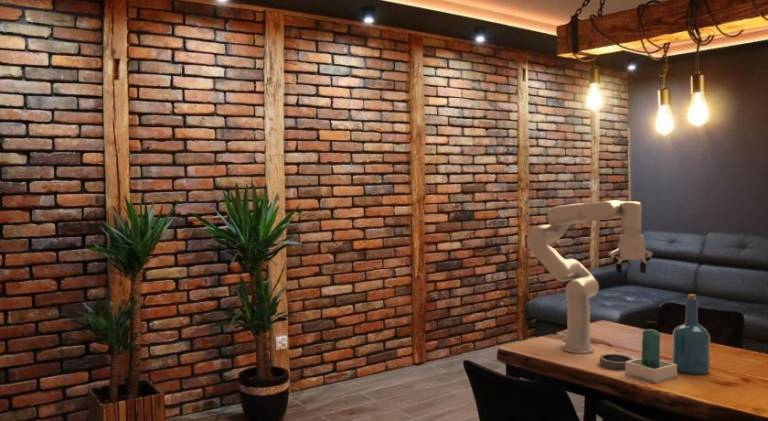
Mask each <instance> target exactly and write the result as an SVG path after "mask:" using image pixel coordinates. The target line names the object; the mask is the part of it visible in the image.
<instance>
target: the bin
mask: <svg viewBox="0 0 768 421" xmlns="http://www.w3.org/2000/svg"><path fill="white" fill-rule="evenodd" d="M641 361H642V357H639V358H635V359H634V358H633V360H630V361H626V362H625V370H624V371H625V375H626V376H629V377H632V378H634V379H635V378H636V379H639V380H642V381H644V382H645V381H646V382H648V383H652V384H659V383H662V382H666V381H669V380H674V379H677V377H678V371H677V364H673V363H672V362H670V361H666V360H662V359H659V363H660V364H659V366H660V368H657V369H652V368H649V367H646V366H642V364H641Z"/></svg>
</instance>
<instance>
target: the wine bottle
mask: <svg viewBox="0 0 768 421" xmlns="http://www.w3.org/2000/svg"><path fill="white" fill-rule="evenodd" d="M685 301H686V302H685V307H686V308H685V322H684V323H683V324H681V325H677V326H675V328H674V329H673V331H672V357H671V358H672V360H671V361H672V362H671V363H673V364H677V372H679V373H681V374H682V373H683V374H686V375H687V374H688V375H693V376H694V375H696V376H697V375H706V374H707V373H709V371H710V364H711V335H710V333H709V331H708V330H707V329H706V328H705V327H703V325H702V324H700V323H699V320H698V319H699V316H698V314H699V313H698V310H699V309H698V307H699V304H698V298H697V295H696V294H694V293H689V294H688V296H687V297H686V300H685Z"/></svg>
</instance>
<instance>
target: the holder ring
mask: <svg viewBox="0 0 768 421" xmlns="http://www.w3.org/2000/svg"><path fill="white" fill-rule="evenodd" d="M630 360H634V358H632V357H631V356H629V355H626V354H619V353H618V354H617V353H605V354H601V355H600V356H599V363H598V364H599V366H601V367H602V368H605V369H608V370H614V371H625V362H626V361H630Z"/></svg>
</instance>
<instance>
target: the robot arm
mask: <svg viewBox="0 0 768 421" xmlns="http://www.w3.org/2000/svg"><path fill="white" fill-rule="evenodd" d="M546 216H547V220H548V221H549V223H548V224H540V225H536V226H535V227H532V228H531V229H530V231H529V232H528V234H527V244H528V248H529V250H530V252H531V253H532V254H533V255H534V257H535V258H536V259H537V260H538V261H540V263H541V264H542V265H543V267H545V269H546V270H548V272H549V273H550V274H551V275H552V276H553V278H554V279H555V280H557V281H559V282H563V283H564V282H568V283H567V284H566V285H565V298H566V304H567V305H566V307H567V311H566V312H567V317H566V318H567V322H566V323H567V324H566V325H567V328H566V329H567V331H566V332H567V334H566V336H563V338H562V339H561V342H563V343H565V344H564V346H563V350H564V351H565V352H568V353H573V354H581V355H582V354H583V355H584V354H591V353H593V352H594V349H595V348H594V346H591V307H590V306H591V305H590V303H589V299H590V298H592V297H594V296H596V295H597V294H598V292H599V290H600V286H599V282H598V280H597V279H596V278H595V276H593V274H592V273H591V272H590V271H589V270H588V269H587V268H586V267H585V265H583V264H582V263H581V262H580V261H578V260H577V259H575V258H564V257H563V256H562V255H561V254H560V253H559V252H558V251H557V249H555V248H554V247H552V246H551V245H549V244H550V243H556V242H558V241H559V240H560V239H561V237H562V236H564V234H565V232H566V231H567V230H568V228H570V226H571V225H573V224H581V223H585V224H586V222H595V221H604V220H611V219H612V220H613V219H620V218H621V226H620V228H618V231H617V232H618V233H621V234H619V238H618V244H617V248H616V249H615V250H612V251H611V252H609V256H610V258H611V260H612V261H613V262H614V263H615V271H616V273H617V274H622V272H623V271H622V270H623V268H622V267H623V266H622V265H623V264H622V262H623V261H624V260H628V261H629V260H631V261H633V260H637V261H638V260H639V261H640V264H639V273H641V274H646V270H647V263H648V262H649V261H650V260H651V258H652V256H653V254H654V253H653V252H652V251H650V250H648V249H646V244H645V243H646V242H645V237H644V235H643V234H642V203H641V202H639V201H633V200H632V201H630V200H629V201H625V200H624V201H622V200H605V201H598V202H588V203H583V202H582V203H581V202H580V203H572V204H566V205H565V204H564V205H557V206H553V207H551V208H550V209H549V210H548V212H547V215H546ZM616 255H617V258H616Z"/></svg>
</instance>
